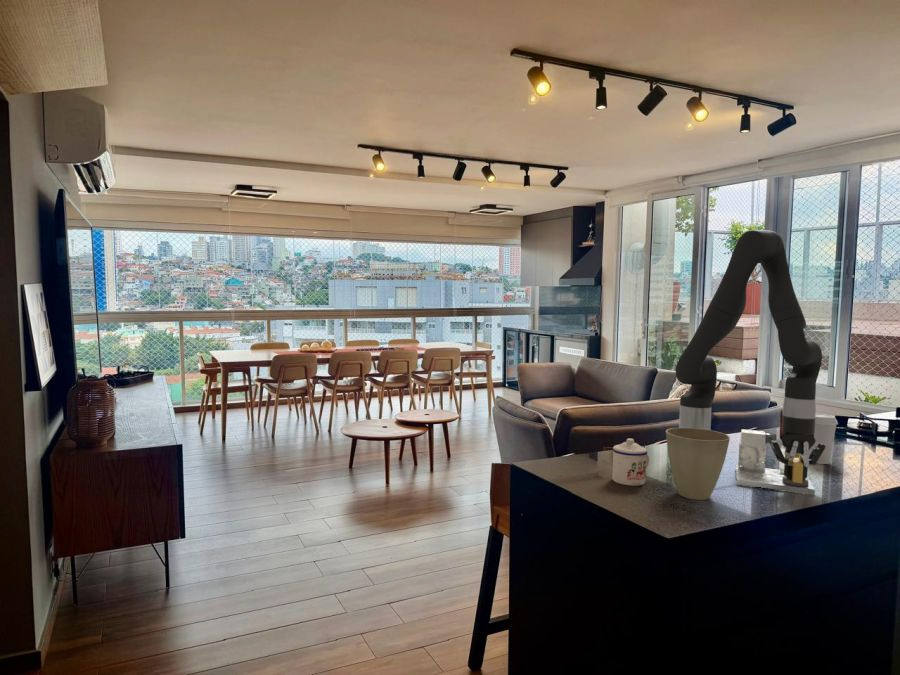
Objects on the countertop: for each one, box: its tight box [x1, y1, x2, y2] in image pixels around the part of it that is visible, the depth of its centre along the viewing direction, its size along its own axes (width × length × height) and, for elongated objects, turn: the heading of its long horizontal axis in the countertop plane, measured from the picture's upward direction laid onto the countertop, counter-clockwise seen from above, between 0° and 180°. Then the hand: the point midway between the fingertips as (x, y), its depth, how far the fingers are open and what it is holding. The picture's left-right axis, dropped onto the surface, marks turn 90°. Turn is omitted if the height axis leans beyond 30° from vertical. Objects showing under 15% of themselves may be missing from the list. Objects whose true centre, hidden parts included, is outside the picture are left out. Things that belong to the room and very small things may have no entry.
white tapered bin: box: [809, 412, 839, 465], centre depth 187 cm, size 10×10×15 cm
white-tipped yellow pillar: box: [782, 458, 808, 486], centre depth 157 cm, size 7×6×6 cm
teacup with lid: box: [612, 438, 650, 487], centre depth 161 cm, size 12×9×12 cm
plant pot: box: [665, 427, 731, 501], centre depth 149 cm, size 15×15×16 cm
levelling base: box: [735, 428, 816, 496], centre depth 163 cm, size 18×18×12 cm
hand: (795, 478), depth 157 cm, fingers closed on white-tipped yellow pillar, 2 cm apart
